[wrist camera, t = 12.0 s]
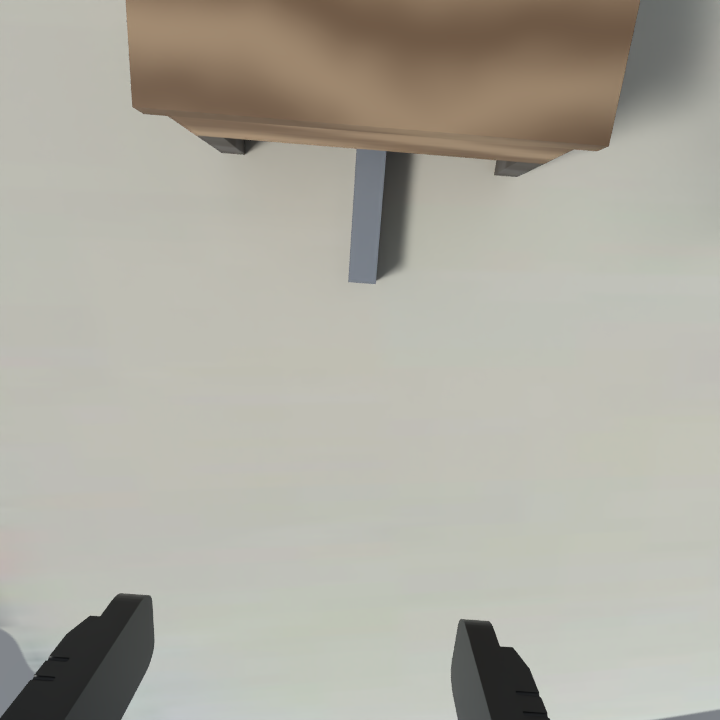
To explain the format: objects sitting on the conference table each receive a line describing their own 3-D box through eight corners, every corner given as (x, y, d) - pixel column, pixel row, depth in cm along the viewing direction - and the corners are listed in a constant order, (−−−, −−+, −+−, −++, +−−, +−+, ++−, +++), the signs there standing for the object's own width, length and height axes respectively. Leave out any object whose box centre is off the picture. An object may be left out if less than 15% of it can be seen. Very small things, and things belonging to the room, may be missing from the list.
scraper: (320, -16, 32) (316, -42, 29) (445, -6, 32) (453, -31, 29) (309, 276, 38) (305, 278, 35) (414, 284, 38) (418, 287, 35)
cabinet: (213, 9, 33) (116, -146, 20) (546, 37, 33) (661, -98, 20) (215, 158, 35) (132, 106, 23) (521, 183, 36) (608, 146, 23)
